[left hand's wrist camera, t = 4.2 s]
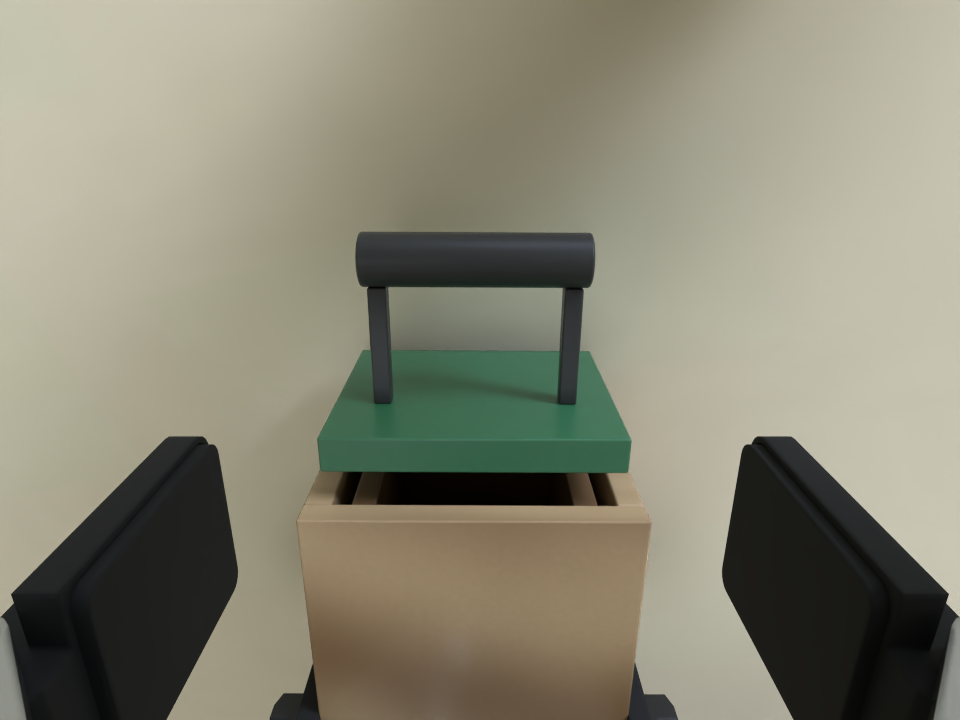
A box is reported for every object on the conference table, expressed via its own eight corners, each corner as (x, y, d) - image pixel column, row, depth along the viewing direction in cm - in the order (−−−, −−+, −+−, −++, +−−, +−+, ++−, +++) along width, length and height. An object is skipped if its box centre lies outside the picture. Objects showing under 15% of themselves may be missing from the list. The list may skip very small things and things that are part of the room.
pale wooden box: (356, 390, 28) (295, 520, 19) (596, 391, 28) (652, 522, 19) (372, 619, 33) (330, 812, 24) (578, 619, 33) (616, 813, 24)
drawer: (353, 210, 24) (297, 248, 17) (599, 211, 24) (651, 250, 17) (377, 577, 31) (344, 721, 23) (573, 577, 31) (603, 723, 23)
